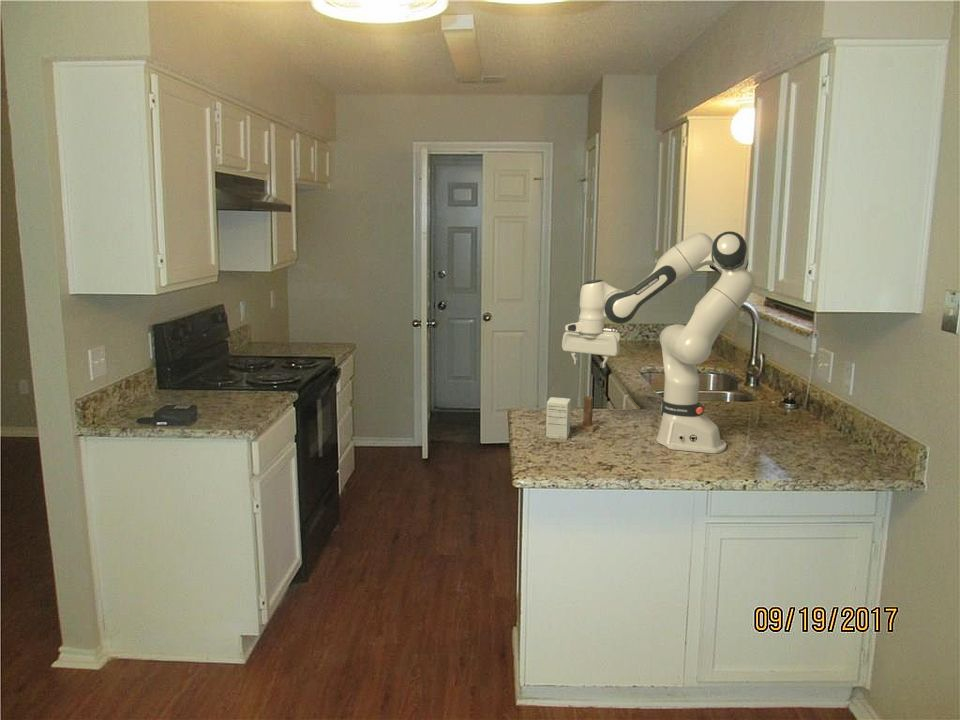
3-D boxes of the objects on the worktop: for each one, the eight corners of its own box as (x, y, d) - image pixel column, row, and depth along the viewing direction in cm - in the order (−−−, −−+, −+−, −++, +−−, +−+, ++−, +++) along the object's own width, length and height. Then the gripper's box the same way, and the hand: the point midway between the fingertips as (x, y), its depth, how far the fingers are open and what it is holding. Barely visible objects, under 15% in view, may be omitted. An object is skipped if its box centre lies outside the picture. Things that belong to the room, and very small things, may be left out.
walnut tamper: (598, 427, 267) (599, 396, 265) (592, 432, 262) (593, 400, 260) (582, 425, 270) (583, 394, 267) (576, 429, 264) (577, 398, 262)
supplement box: (549, 431, 262) (550, 396, 259) (570, 433, 260) (571, 398, 257) (545, 437, 255) (546, 401, 252) (566, 439, 253) (568, 403, 250)
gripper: (623, 328, 257) (621, 367, 259) (567, 323, 266) (566, 361, 269) (617, 330, 251) (615, 371, 254) (560, 325, 260) (559, 364, 263)
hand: (589, 366), depth 261 cm, fingers open, 8 cm apart
